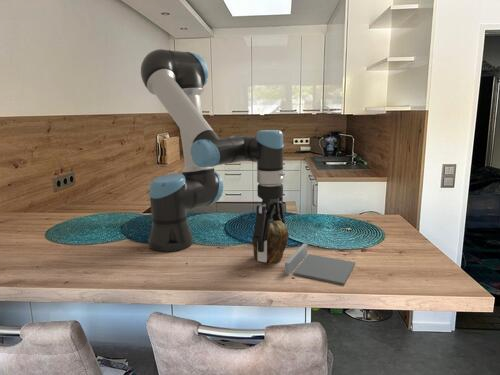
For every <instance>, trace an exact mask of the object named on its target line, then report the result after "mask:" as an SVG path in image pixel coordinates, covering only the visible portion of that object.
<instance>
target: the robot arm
mask: <svg viewBox="0 0 500 375" xmlns="http://www.w3.org/2000/svg"><path fill="white" fill-rule="evenodd" d="M140 76H141V80H142V83H143V84H144V86H145V87H146V89H147V90H148V92H149V93H150V94H152V95H155V96H156V98H157V99H158V100H159V102H160V103H161V104H162V106H163V107H164V108H165V110H166V111H167V114H169V115H170V117H171V118H172V120H173V121H174V122H175V124H176V125H177V126H178V128H179V131H180V132H179V134H180V139H181V145H182V152H183V159H184V168H183V169H182V170H181V173H171V174H163V175H160V176H157V177H155V178H154V179H152V180H151V181H150V182H149V192H148V194H149V199H150V213H151V223H152V224H151V227H150V231H149V236H148V239H147V240H148V241H147V242H148V248H150V249H151V250H152V251H155V252H162V253H163V252H165V253H166V252H169V253H170V252H176V251H181V250H184V249H187V248H189V247H191V246H192V245H193V244H194V235H193V232H192V230H191V229H192V228H190V225H189V222H188V212H187V211H190V210H194V209H197V208H198V209H199V208H200V207H204V206H205V207H207V206H210V205H212V204H214V203H217V202H218V201H219V200H220V199H221V197H222V196H223V193H224V192H223V191H224V180H223V179H222V177H221V175H220V173H218V172H217V171H215V167H216V166H220V165H221V166H222V165H227V164H234V163H240V162H254V163H256V170H257V172H256V178H257V179H256V181H257V183H258V184H257V186H256V187H257V188H256V189H257V197H258V198H259V199H261V200H262V201H261V205H257V206H256V207H255V208H256V214H255V215H256V216H255V223H254V229H253V233H254V236H253V235H252V237H253V240H254V241H257V253H258V261H261V262H267V240H265V239H266V235H267V231H268V226H269V222H271V220H275V221H281V222H283V223H284V224H285V225H286V216H285V210H284V209H285V208H284V203H283V202H284V199H283V196H284V185H283V182H284V177H285V173H284V147H285V144H284V133H283V132H282V131H281V130H280V129H279V130H277V129H261V130H258V131H257V133H256V136H251V135H249V136H248V135H244V134H243V135H242V134H240V135H239V134H238V135H231V136H230V137H219V136H218V134H217V133H216V132H215V130H214V129H213V128H212V126H210V124H209V123H208V122H207V120H206V119H205V118H204V115H203V108H202V103H201V102H202V100H201V96H202V93H203V92H204V86H206V84H207V83H208V79H209V70H208V66H207V63H206V61H205V59H204V58H203V57H201V55H200V54H197V53H193V52H190V51H178V50H171V49H162V48H159V49H155V50H153V51H150V52H148V54H146V56H145V57H144V58H143V60H142V62H141V65H140ZM258 261H257V262H258ZM261 262H260V263H261Z"/></svg>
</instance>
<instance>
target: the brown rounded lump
mask: <svg viewBox="0 0 500 375" xmlns="http://www.w3.org/2000/svg"><path fill="white" fill-rule="evenodd" d="M253 236H254V232H253V234H252V238H251V243H252V246H253V259H254V260H255V261H257V262H259V263H261V264H266V265H268V264H275V263H279V262H281V260H282V259H283V256H284V252H285V250H286V248H287V246H288V243H289V238H290V237H289V236H290V235H289V230H288V227H287V226H286V223H285V224H284V223H283V222H281V221H275V220H273V219H271V220H270V222H269V226H268V231H267V235H266V239H265V240H267V262H261V261H258V253H257V241H254V240H253Z"/></svg>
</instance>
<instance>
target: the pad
mask: <svg viewBox="0 0 500 375" xmlns="http://www.w3.org/2000/svg"><path fill="white" fill-rule="evenodd" d="M355 265H356V262H355V261H350V260H345V259H341V258H340V259H338V258H333V257H326V256H321V255H316V254H311V253H309V254H307V255H306V256H305V257H304V259H303V260H302V261H301V262H300V263H299V264H298V265H297V267H296V268H295V269H294V270H293V271H292V275H293V276H298V277H299V276H300V277H302V278H303V277H304V278H308V279H313V280H317V281H322V282H326V283H332V284H336V285H341V286H345V284H346V282H347V281H348V278H349V276H350V274H351V273H352V271H353V269H354V267H355Z"/></svg>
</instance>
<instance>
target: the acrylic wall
mask: <svg viewBox="0 0 500 375" xmlns="http://www.w3.org/2000/svg"><path fill="white" fill-rule="evenodd" d="M308 245H309V244H308V243H305V242H304V243H302V244H301V245H300V247H299V248H298V249H297V250H296V251H295V252H294V253H293V254H291V256H290V257H289V258H288V259H287V260H286V261H285V262H284V275H285V276H289V275H291V274H292V273H293V272H294V271H295V270H296V269H297V268H298V266H299V265H300V264H301V263H302V262H303V261H304V259H305V258H306V257H307V256H308Z"/></svg>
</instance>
